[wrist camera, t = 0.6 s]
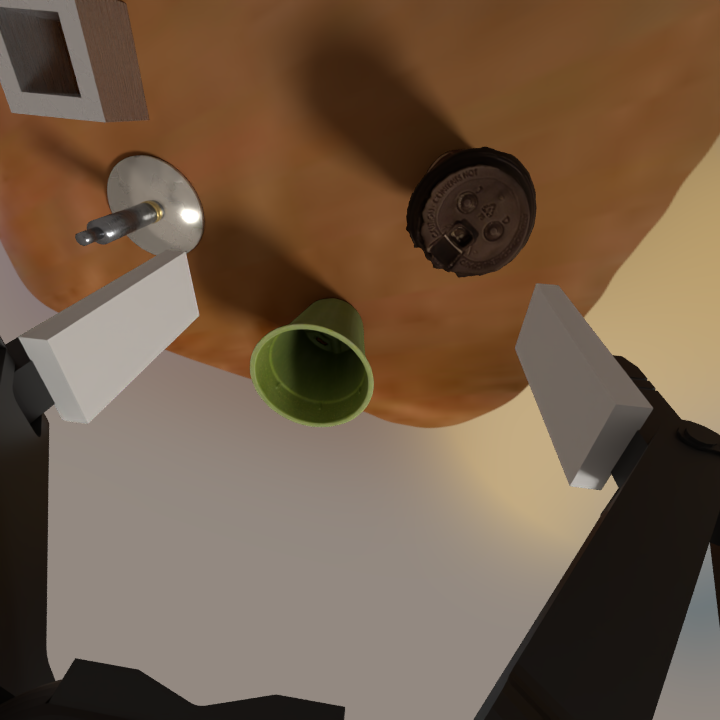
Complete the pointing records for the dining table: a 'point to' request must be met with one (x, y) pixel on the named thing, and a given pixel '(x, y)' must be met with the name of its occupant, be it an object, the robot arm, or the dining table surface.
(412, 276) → the dining table surface
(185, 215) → the post
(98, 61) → the collar
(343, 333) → the plant pot
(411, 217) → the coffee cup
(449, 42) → the dining table surface
